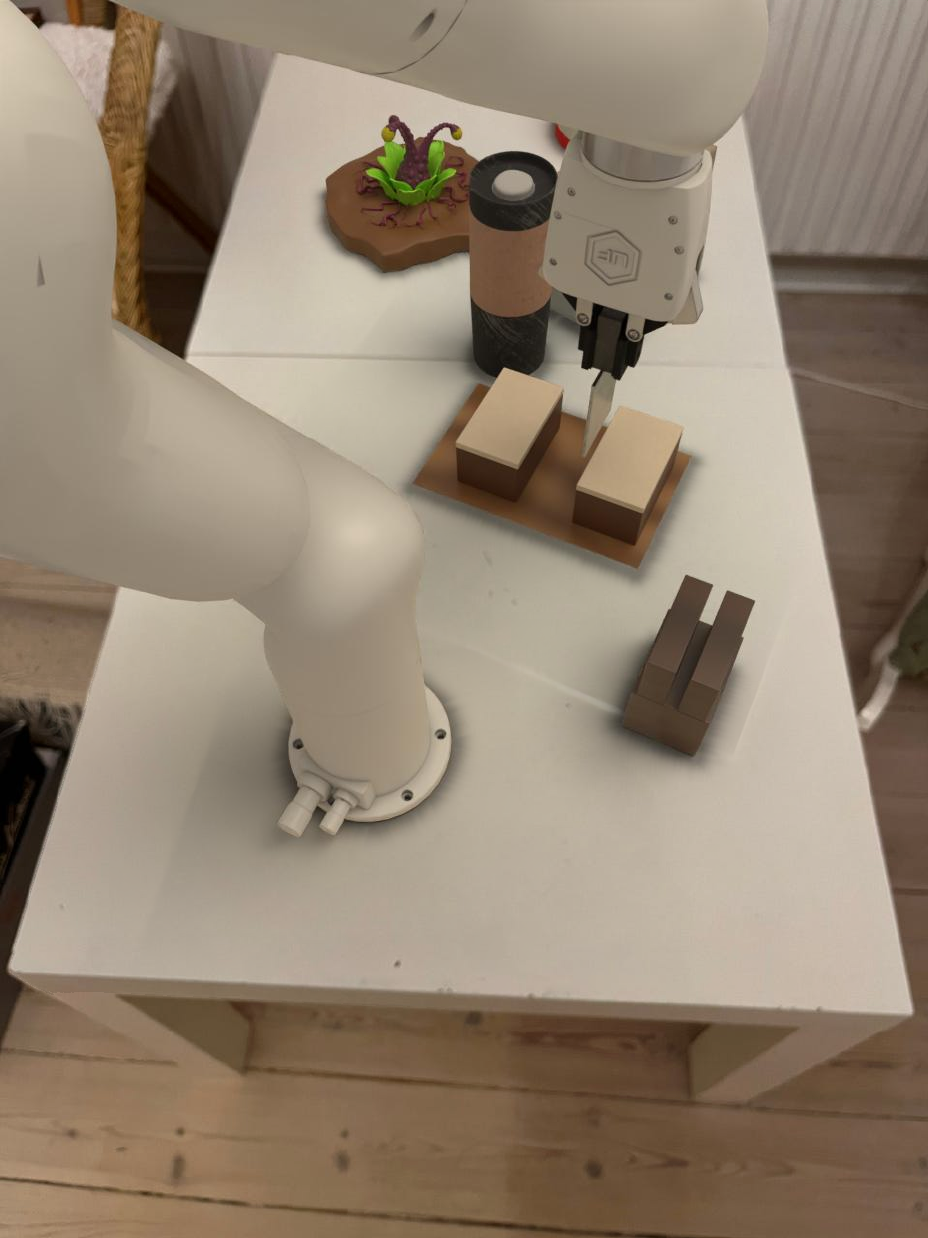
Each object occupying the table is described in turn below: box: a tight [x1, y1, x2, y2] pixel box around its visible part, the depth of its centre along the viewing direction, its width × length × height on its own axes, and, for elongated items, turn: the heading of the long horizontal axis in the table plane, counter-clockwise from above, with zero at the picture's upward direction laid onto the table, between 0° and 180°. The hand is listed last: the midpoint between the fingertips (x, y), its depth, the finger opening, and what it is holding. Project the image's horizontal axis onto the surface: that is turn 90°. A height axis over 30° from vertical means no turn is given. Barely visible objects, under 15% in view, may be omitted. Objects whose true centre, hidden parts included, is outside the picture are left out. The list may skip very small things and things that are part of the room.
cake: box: [456, 368, 565, 502], centre depth 84 cm, size 10×6×5 cm, turn 154°
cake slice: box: [572, 405, 685, 546], centre depth 81 cm, size 10×6×5 cm, turn 154°
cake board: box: [412, 383, 692, 570], centre depth 85 cm, size 14×22×1 cm, turn 64°
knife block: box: [621, 574, 756, 757], centre depth 69 cm, size 8×6×11 cm
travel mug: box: [469, 150, 558, 379], centre depth 85 cm, size 8×8×20 cm
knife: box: [581, 306, 629, 458], centre depth 72 cm, size 6×2×13 cm, turn 154°
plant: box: [325, 114, 480, 273], centre depth 101 cm, size 20×20×11 cm
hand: (607, 361), depth 71 cm, fingers closed on knife, 1 cm apart
